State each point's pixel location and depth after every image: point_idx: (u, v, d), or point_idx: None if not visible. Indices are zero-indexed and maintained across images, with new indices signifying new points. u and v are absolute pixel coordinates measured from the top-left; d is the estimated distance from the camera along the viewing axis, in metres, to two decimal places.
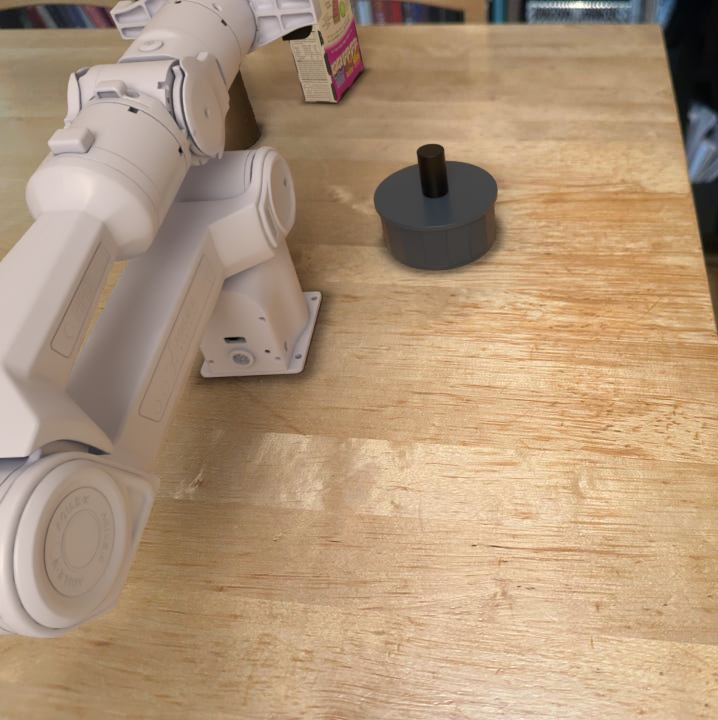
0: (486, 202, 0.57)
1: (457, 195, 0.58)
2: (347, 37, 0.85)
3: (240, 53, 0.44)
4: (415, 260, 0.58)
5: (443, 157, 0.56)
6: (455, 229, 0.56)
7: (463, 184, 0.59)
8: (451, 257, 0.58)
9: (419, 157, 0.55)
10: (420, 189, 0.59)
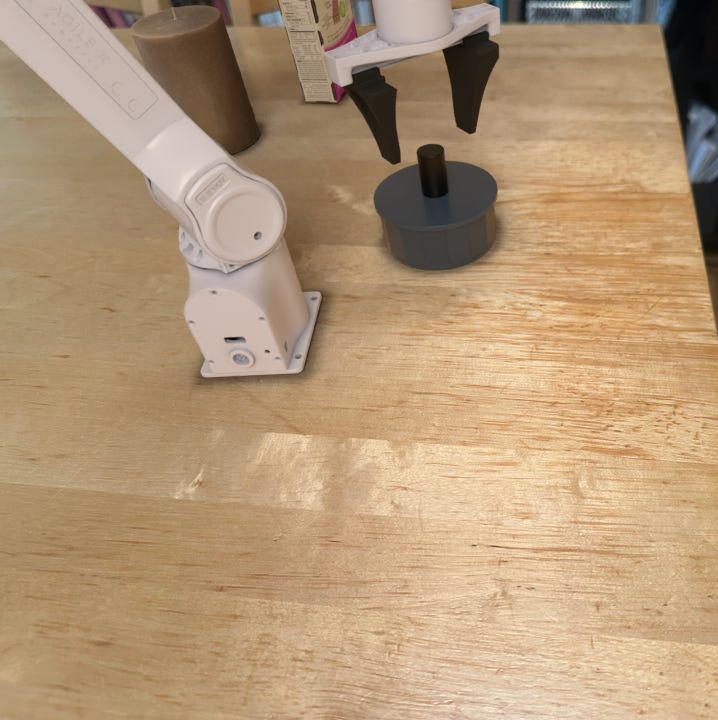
0: (486, 202, 0.57)
1: (457, 195, 0.58)
2: (347, 37, 0.85)
3: None
4: (415, 260, 0.58)
5: (443, 157, 0.56)
6: (455, 229, 0.56)
7: (463, 184, 0.59)
8: (451, 257, 0.58)
9: (419, 157, 0.55)
10: (420, 189, 0.59)
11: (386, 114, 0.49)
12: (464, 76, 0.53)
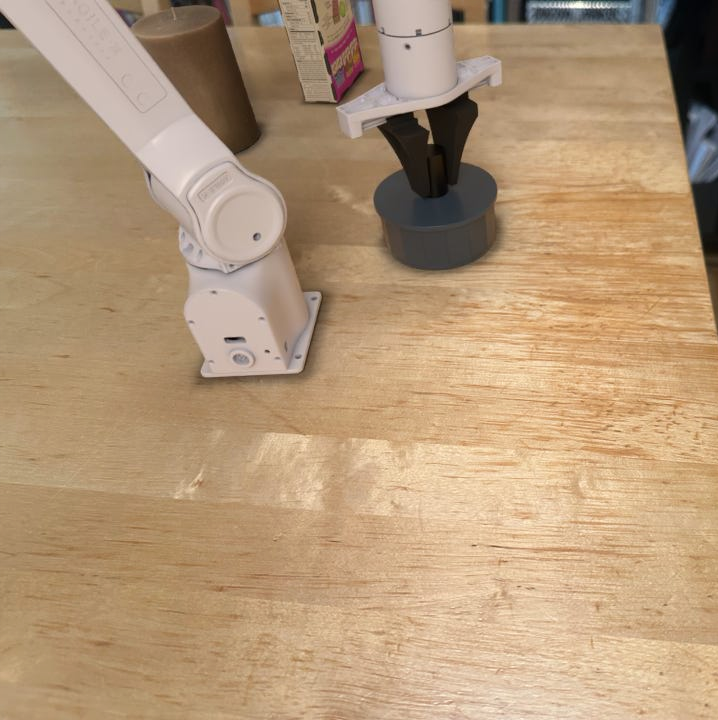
0: (486, 202, 0.57)
1: (457, 195, 0.58)
2: (347, 37, 0.85)
3: None
4: (415, 260, 0.58)
5: (443, 157, 0.56)
6: (455, 229, 0.56)
7: (463, 184, 0.59)
8: (451, 257, 0.58)
9: None
10: None
11: (418, 153, 0.53)
12: (445, 132, 0.55)
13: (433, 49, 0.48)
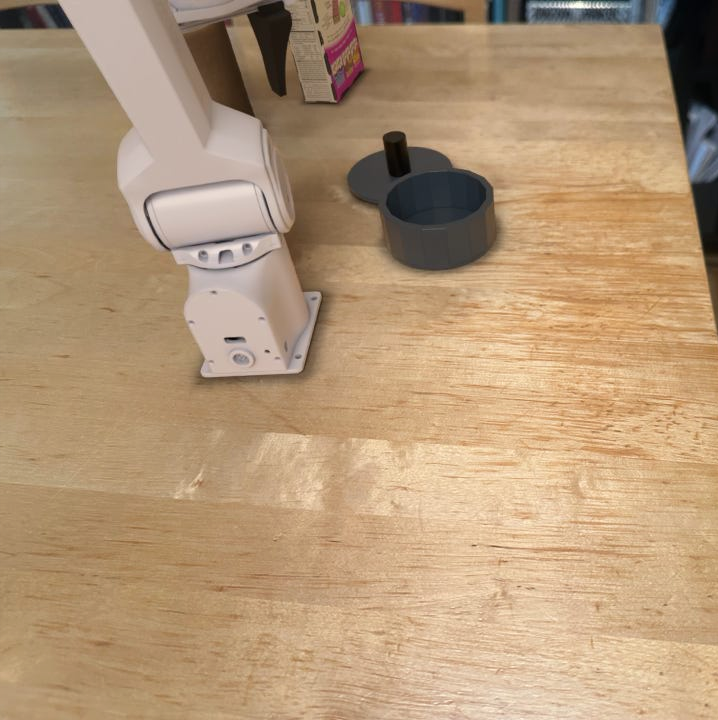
0: None
1: None
2: (347, 37, 0.85)
3: None
4: (415, 260, 0.58)
5: (405, 142, 0.66)
6: (455, 229, 0.56)
7: (423, 165, 0.70)
8: (451, 257, 0.58)
9: (385, 142, 0.66)
10: (387, 170, 0.70)
11: None
12: (265, 42, 0.59)
13: None
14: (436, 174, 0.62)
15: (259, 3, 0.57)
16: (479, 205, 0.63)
